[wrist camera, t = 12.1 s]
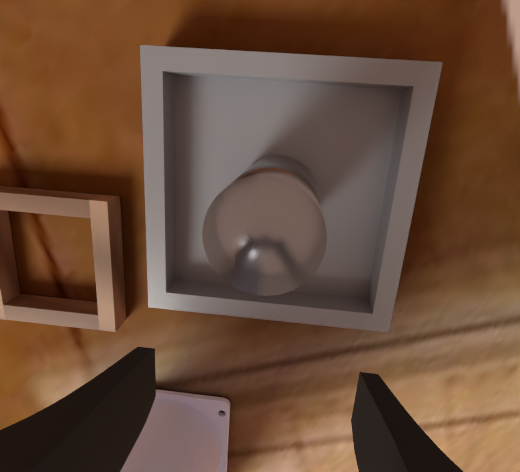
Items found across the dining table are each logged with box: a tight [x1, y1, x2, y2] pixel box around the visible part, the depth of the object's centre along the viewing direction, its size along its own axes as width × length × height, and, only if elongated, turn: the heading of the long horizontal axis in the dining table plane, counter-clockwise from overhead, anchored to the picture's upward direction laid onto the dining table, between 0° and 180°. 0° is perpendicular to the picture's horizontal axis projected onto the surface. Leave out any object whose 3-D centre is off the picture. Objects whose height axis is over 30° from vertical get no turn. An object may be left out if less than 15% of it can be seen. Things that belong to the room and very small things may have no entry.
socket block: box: [0, 186, 126, 332], centre depth 22 cm, size 8×8×2 cm
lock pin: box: [202, 155, 327, 296], centre depth 16 cm, size 4×4×8 cm
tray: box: [140, 45, 443, 333], centre depth 19 cm, size 13×13×2 cm
